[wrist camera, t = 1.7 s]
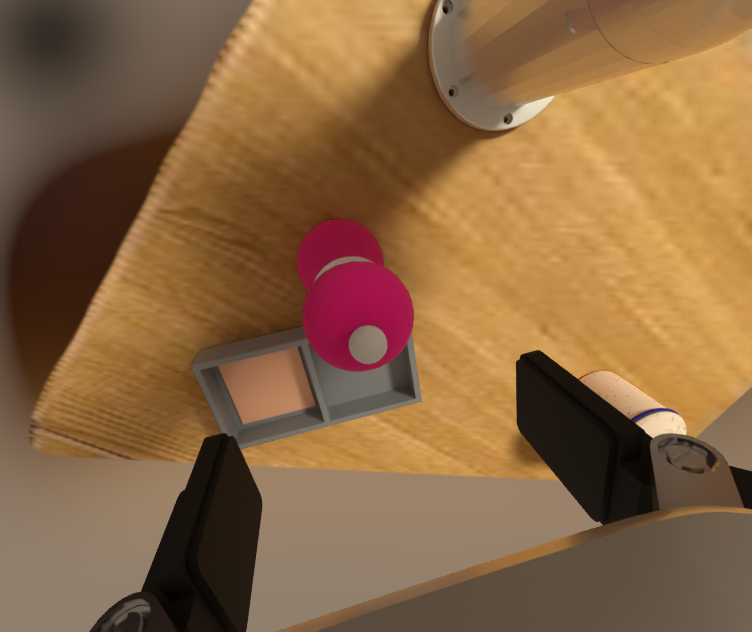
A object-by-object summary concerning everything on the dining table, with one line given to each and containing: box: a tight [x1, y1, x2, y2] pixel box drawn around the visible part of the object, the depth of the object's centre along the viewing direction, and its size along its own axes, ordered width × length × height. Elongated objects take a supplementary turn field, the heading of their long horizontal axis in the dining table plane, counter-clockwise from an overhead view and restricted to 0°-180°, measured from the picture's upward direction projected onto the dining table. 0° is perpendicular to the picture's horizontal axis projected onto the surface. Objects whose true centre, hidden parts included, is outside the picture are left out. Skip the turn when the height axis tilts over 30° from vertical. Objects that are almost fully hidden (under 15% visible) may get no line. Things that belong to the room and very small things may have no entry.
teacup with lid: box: [580, 371, 686, 438], centre depth 42 cm, size 12×9×12 cm
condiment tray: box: [191, 326, 422, 449], centre depth 36 cm, size 11×21×3 cm, turn 100°
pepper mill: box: [297, 219, 414, 372], centre depth 24 cm, size 7×7×20 cm
